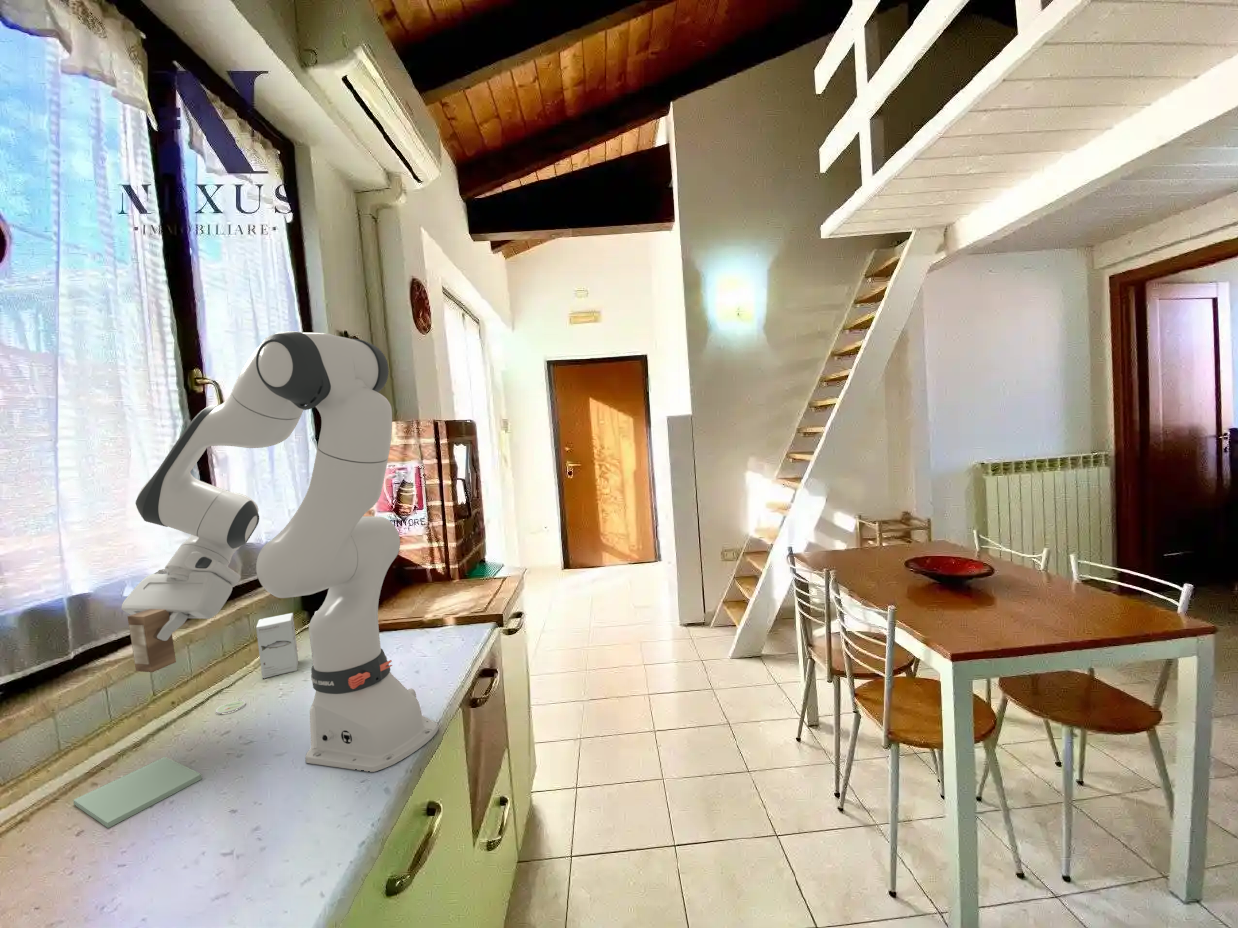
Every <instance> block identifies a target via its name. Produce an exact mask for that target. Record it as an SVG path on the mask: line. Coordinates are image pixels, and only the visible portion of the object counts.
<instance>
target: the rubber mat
mask: <svg viewBox="0 0 1238 928" xmlns="http://www.w3.org/2000/svg"><path fill="white" fill-rule="evenodd" d="M202 775H203V774H202V773H200V772H198V771H196V770H194V769H192V768H189V767H187V766H186V765H183V764H181V763H179V762H177V761H175V760H172V759H171V758H168V757H166V756H163V757H161V758H159V759H156V760H155V761H153V762H151V763H149V764H147V765H144V766H142V767H140V768H138V769H136V770H133V771H131V772H130V773H127V774H125V775H123V776H121V777H119V778H116V779H115V780H112V781H110V782H108V783H106V784H104V785H102V786H100V787H98V788H96V789H93V790H91V791H89V792H87V793H85V794H82V795H81V796H78V797H76V798H74V799H73V800H72V801H73V805H74V806H75V805H76V806H75V807H77V808H78V809H80V810H81V811H83V812H84V813H86V814H87V815H88V816H89V817H92V818H93V819H94V820H96V821H97V822H98V823H100V824H102V825H103V826H104V827H106V828H107V829H110V828H112V827H113V826H116V825H117V824H119V823H121V822H123V821H124V820H126V819H128V818H130V817H132V816H134V815H136V814H138V813H140V812H141V811H144V810H146V809H147V808H149V807H152V806H154V805H155V804H156V803H159V802H160V801H162V800H165V799H166V798H168V797H171V796H172V795H174V794H175V793H178V792H180V791H182V790H184V789H186V788H188V787H189V786H191V785H193V784H195V783H197V782H198V781H200V780H202V779H203V776H202Z"/></svg>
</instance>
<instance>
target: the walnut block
mask: <svg viewBox="0 0 1238 928" xmlns="http://www.w3.org/2000/svg"><path fill="white" fill-rule="evenodd" d="M169 620H170V618H169V612H167V611H166V609H148V610H145V611H142V612H139V613H136V614H133V615H131V614H129V615H127V621H128V627H129V628H128V629H129V635H130V642H131V648H132V654H133V661H134V662H133V663H134V667H135V672H144V673H154V672H157V671H159V670H161V669H164V668H166V667H168V666H171V665H172V664H175V663H177V660H176V652H175V645H174V644H175V643H174V639H173V633H172V634H171V636H170V637H169V639H168V640H166V641H161V640H157V639H155V638H153V635H154V634H155V633H156V631H157V629H158V628H162V627H163V626H164V625H165V624H166V623H167V622H168V621H169Z"/></svg>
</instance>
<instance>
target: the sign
mask: <svg viewBox="0 0 1238 928" xmlns="http://www.w3.org/2000/svg"><path fill="white" fill-rule="evenodd" d="M245 704H246V705H247V702H246V700H244V699H243V700H242V699H241V700H239V699H238V700H234V701H233V700H232V701H229V702H227V703H225V704H222V705H220V706H218V707H217V708H216V709H215V714H216V713H217V714H222V713H228V712H232V711H235V710H236V709H239V708H242V707H243V708H245V707H246V705H245ZM244 706H245V707H244ZM243 708H242V709H243ZM217 714H216V715H217Z"/></svg>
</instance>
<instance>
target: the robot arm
mask: <svg viewBox="0 0 1238 928" xmlns="http://www.w3.org/2000/svg"><path fill="white" fill-rule="evenodd" d="M387 360H388V359H387V358H386V356H385V354H384V353H383V351H382V350H381V349H380V348H379V347H377V346H376V345H374V344H373V343H370V342H369V341H366V340H362V339H360V338H348V337H345V336H339V335H334V334H332V333H325V332H301V331H297V330H296V331H295V330H289V331H287V330H286V331H281V332H276V333H273V334H270V335H268V336H267V337H265V338H264V339H263V340H262V341H261V342H260V344H259V346H258V347H257V348H256V349H255V350H254V351H253V353H252V354H251V356H250V357H249V358H248V360H247V361H246V362H245V365H244V366H243V368H242V369H241V371H240V373H239V375H238V377H237V379H236V381H235V384H234V385H233V389H232V391H231V393H230V395H229V396H228V398H227V399H226V400H225V401H223V402H222V403H221V404H209V405H208V406H206V407H205V408H204V409H202V410H200V411H199V412H198V413H197V414H196V415H195V416H194V418H193V419H192V420H191V422H189V424H188V425H187V426H186V428H185V429H184V430H183V431H182V433H181V434H180V436H179V438H178V439H177V440H176V442H175V443H174V444H173V446H172V448H171V450H170V451H169V453H168V454H167V456H166V457H165V459H164V460H163V461H162V463H161V464H160V466H159V467H158V468H157V470H156V471H155V473H154V474H153V475H152V477H151V478H150V479H148V481H147V482H146V483H145V485H144V486H143V487H142V488H141V490H140V491H139V493H138V495H137V498H136V500H135V507H136V509H137V511H138V514H139V515H140V516H141V518H142V519H143V521H144V522H146V523H150V524H154V525H158V526H162V527H166V528H167V527H169V528H171V529H174V530H177V531H180V532H183V533H186V534H188V535H190V536H189V537H188V539H186V540H185V541H184V542H183V543H182V544H181V545H180V546H179V547H178V549H177V550H176V552H175V553H174V554H173V556H172V557H171V559H170V560H169V561H168V563H167V564H166V565H165V567H164V568H163V569H159V570H157V572H155V573H153V574H148V575H147V576H146V577H144V578H143V579H142V580H141V581H140V582H139V583H138V584H137V585H136V586H135V587H134V588H133V590H132V591H131V592H130V593H129V594H128V596H127V597H126V598H124V601H123V602H122V604H121V607H120V608H121V610H122V611H123V612H125V613H127V614H129V615H133V614H136V613H139V612H142V611H145V610H148V609H166V611H167V612H169V618H170V620H169V621H168V622H167V623H166V624H165V625H164V626H163V627H162V628H158V629H157V631H156V633H155V634H154V635H153V638H155V639H157V640H161V641H166V640H168V639H169V637H170V636H171V634H172V635H173V633H175V631H176V630H178V629H179V628H180V627H182V626H183V625H184V624H185V622H186V621H187V620H188V619H199V620H200V619H207V620H210V619H212V618H213V617H215V616H216V615H218V614H219V612H220V611H221V610H222V608H223V607H224V605H226V603H227V600H228V599H229V597H230V596H231V594H232V591H233V586H236V585H237V584H238V583H239V582H240V580H241V577H242V576H241V575H240V573H238V572H237V571H235V570H233V569H232V568H230V567H229V565H230V564H231V561H232V557H233V555H234V554H235V552H236V551H238V550H239V549H240V548H241V547H242V546H244V545H246V544H247V542H248V541H249V539H250V538H251V537H252V535H253V533H254V532H255V530H256V529H257V526H258V525H259V522H260V515H259V507H258V504H257V503H256V502H255V501H254V500H253V499H251V498H250V497H249V496H247V495H245V494H243V493H240V492H234V491H233V492H232V491H230V490H227V489H223V488H221V487H219V486H218V487H217V486H215V485H213V484H210V483H207V482H205V481H203V480H199V479H197V478H196V477H195V476H194V475H193V474H192V473H191V471H192V470H193V469H194V467H195V466H196V464H197V462H198V461H199V460H200V458H201V457H202V455H204V453H205V451H206V450H207V449H208V448H209V447H215V446H216V447H218V446H222V447H234V448H235V447H237V448H242V449H243V448H244V449H262V448H267V447H268V448H269V447H272V446H275V445H278V444H280V443H283V442H284V441H285V440H287V439H289V437H290V436H291V435H292V433H293V432H294V430H295V428H296V427H297V425H298V423H299V421H300V419H301V417H302V415H303V413H304V411H307V410H311V409H312V410H313V408H315V409H317V411H318V412H319V415H320V417H321V418H320V419H321V426H320V427H321V428H320V432H319V437H318V438H319V439H318V443H317V448H316V453H315V459H314V464H313V468H312V474H311V477H310V481H309V487H308V489H307V491H306V494H305V496H304V498H303V500H302V502H301V503H300V505H299V507H298V508H297V510H296V512H295V513H294V515H293V516H292V518H291V519H290V520H289V521H288V523H287V524H286V525H285V527H284V528H283V529H282V530H281V531H280V532H279V533H278V534H276V536H274V538H272V539H271V540H269V541H268V542H266V543H265V544H264V545H263V547H262V548H261V549H260V550H259V552H258V556H257V559H256V564H255V570H256V576H257V579H258V581H259V583H260V585H261V586H262V587H263V588H264V589H265V591H266V592H267V593H269V594H271V595H272V596H273V597H274V598H275V597H276V598H279V599H289V598H296V597H302V596H310V595H314V594H316V593H320V592H322V591H325V590H327V594H326V596H325V599H324V601H323V602H322V605H320V607H319V609H318V610H317V611H316V612H315V613H314V615H312V617H311V619H310V622H309V625H308V635H309V643H310V650H311V658H312V665H311V669H310V672H311V675H310V677H311V678H310V680H311V682H312V688H313V690H314V691H315V693H314V698H313V701H312V704H311V706H310V709H309V729H310V734H309V735H310V748H309V750H308V751H307V752H306V754H305V762H306V764H307V763H308V764H313V765H318V766H319V765H320V766H326V767H332V768H333V767H334V768H340V769H341V768H342V769H348V770H355V769H357V770H355V771H361V770H364V771H363V772H368V771H370V772H369V773H374V772H377V771H380V770H384V769H387V768H388V767H390V766H393V765H395V764H397V763H399V762H401V761H403V760H404V759H405V758H407V757H409V756H410V755H412V754H414V753H415V752H416V751H418V750H419V749H420V748H422V747H423V746H425V745H426V744H427V743H428V742H430V740H432V739H433V737H435V735H436V734H437V733H438V731H439V725H438V723H437V722H435V721H433V720H432V719H430V718H428V717H426V716H424V715H423V713H422V708H421V706H420V703H419V699H418V698H417V694H416V691H415V689H414V688H406V687H405V685H403V684H402V682H400V680H399V679H398V678H397V677H396V676H394V674H392V672H391V667H393V664H390V663H392V660H393V659H389V660H388V658H387V655H386V654H385V651H384V649H383V648H382V647H381V638H380V630H379V629H380V628H379V614H378V613H379V601H380V600H379V599H380V596H381V590H382V586H383V583H384V580H385V577H386V575H387V572H388V570H389V568H390V567H391V565H392V563H393V562H394V561H395V559H396V558H397V557H398V555H399V552H400V549H401V538H400V535H399V531H398V530H397V529H398V528H397V527H396V526H395V524H394V523H393V522H392V521H390V520H389V519H388V518H386V517H384V516H374V515H373V516H371V515H370V516H367V515H366V513H368V512H369V511H370V509H372V508H373V507H374V506H375V505H376V504H377V503H378V501H379V499H380V498H381V495H382V490H383V485H384V481H385V476H386V471H387V465H388V461H389V456H390V450H391V443H392V433H393V410H392V405H391V403H390V401H389V400H388V399H387V397H386V396H384V395H383V394H381V393H380V392H381V391H382V389H383V388H384V387H385V386H386V384H387V381H388V378H389V363H388V361H387ZM364 515H366V516H364Z"/></svg>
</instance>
